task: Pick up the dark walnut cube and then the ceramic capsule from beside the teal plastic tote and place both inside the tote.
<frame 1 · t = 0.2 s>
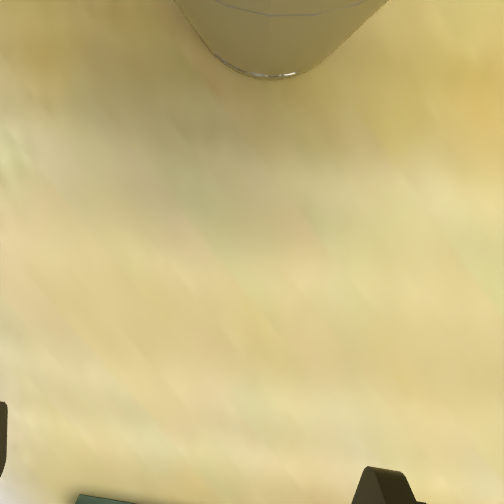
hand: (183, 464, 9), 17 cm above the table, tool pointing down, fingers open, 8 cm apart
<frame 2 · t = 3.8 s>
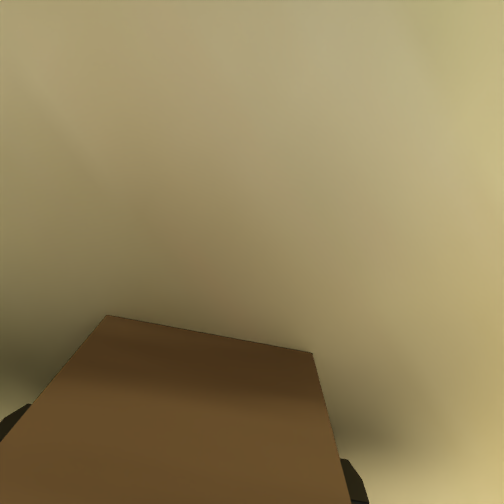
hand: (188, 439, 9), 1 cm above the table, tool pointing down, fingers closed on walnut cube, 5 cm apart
walnut cube: (194, 419, 10), on the table, touching gripper
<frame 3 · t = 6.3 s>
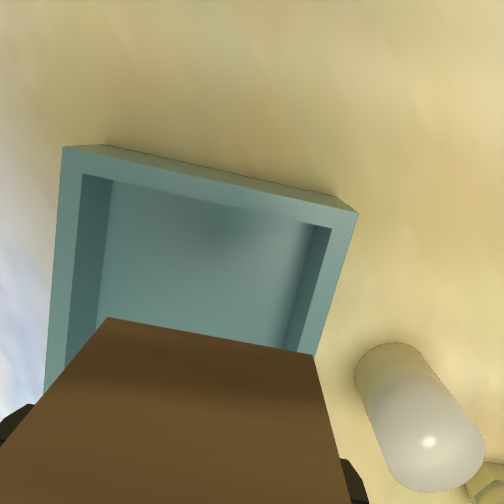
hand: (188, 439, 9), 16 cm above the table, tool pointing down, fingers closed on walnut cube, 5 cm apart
tote: (195, 308, 25), on the table
ceramic capsule: (390, 375, 27), on the table
walnut cube: (194, 420, 10), point 15 cm above the table, touching gripper
when the fingers open (4 cm above the table, at t = 8.7 s): walnut cube drops 2 cm, resting on tote.
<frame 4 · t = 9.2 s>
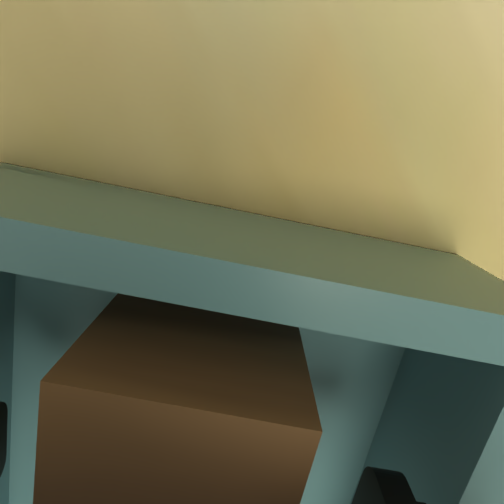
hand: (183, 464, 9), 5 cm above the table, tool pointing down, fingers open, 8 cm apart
tote: (189, 448, 14), on the table
walnut cube: (199, 366, 12), point 1 cm above the table, touching tote
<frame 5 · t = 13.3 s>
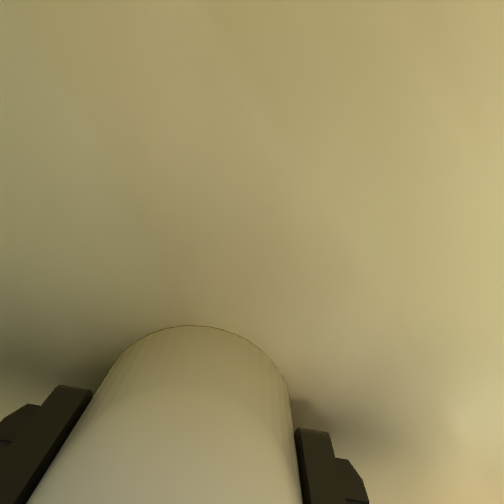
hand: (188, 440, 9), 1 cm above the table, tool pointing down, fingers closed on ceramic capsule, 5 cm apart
ceramic capsule: (196, 410, 10), on the table, touching gripper
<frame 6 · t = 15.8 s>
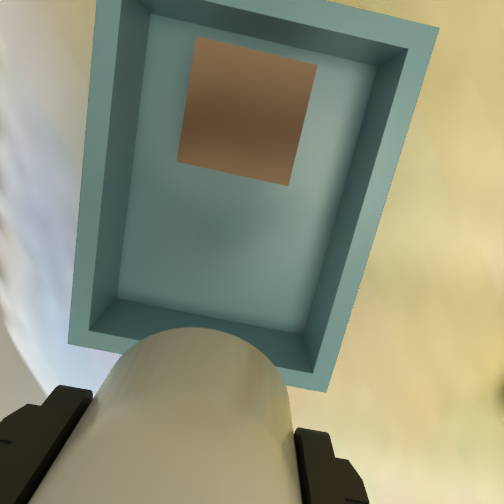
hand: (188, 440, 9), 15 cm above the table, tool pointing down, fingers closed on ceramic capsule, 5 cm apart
tote: (236, 190, 23), on the table
ceramic capsule: (196, 411, 10), point 14 cm above the table, touching gripper
walnut cube: (247, 120, 21), point 1 cm above the table, touching tote
when the fingers open (4 cm above the table, at t = 18.3 s): ceramic capsule drops 2 cm, resting on tote.
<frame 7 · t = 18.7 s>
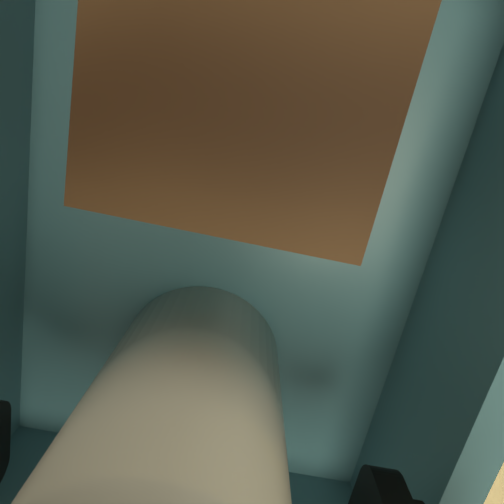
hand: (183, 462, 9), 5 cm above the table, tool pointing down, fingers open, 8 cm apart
tote: (230, 237, 12), on the table
ceramic capsule: (201, 357, 13), point 1 cm above the table, touching tote
walnut cube: (249, 104, 10), point 1 cm above the table, touching tote
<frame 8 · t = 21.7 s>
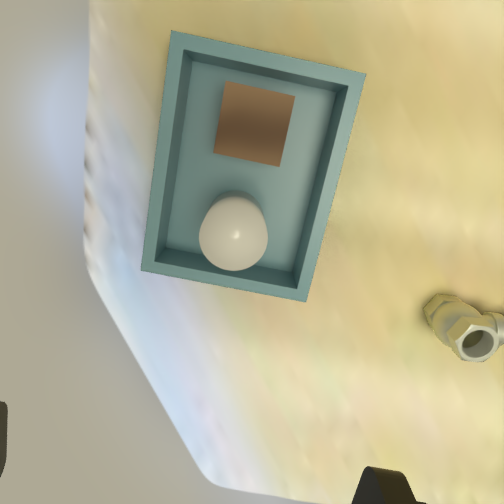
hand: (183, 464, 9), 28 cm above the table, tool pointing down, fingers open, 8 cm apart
tote: (246, 173, 34), on the table
valve: (479, 312, 38), on the table
ceramic capsule: (235, 218, 35), point 1 cm above the table, touching tote
walnut cube: (253, 127, 33), point 1 cm above the table, touching tote
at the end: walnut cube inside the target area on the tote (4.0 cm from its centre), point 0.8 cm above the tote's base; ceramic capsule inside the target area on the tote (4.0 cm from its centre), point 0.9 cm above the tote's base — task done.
